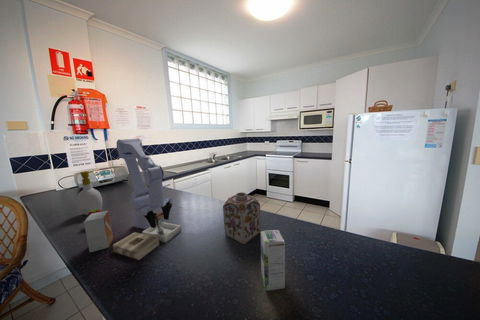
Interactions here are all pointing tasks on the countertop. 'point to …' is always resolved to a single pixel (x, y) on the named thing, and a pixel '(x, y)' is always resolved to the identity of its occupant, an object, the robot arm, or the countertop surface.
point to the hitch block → (136, 245)
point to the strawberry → (94, 211)
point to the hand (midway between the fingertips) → (160, 223)
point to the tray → (169, 232)
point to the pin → (159, 223)
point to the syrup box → (273, 259)
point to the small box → (98, 231)
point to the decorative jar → (242, 217)
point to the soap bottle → (88, 195)
